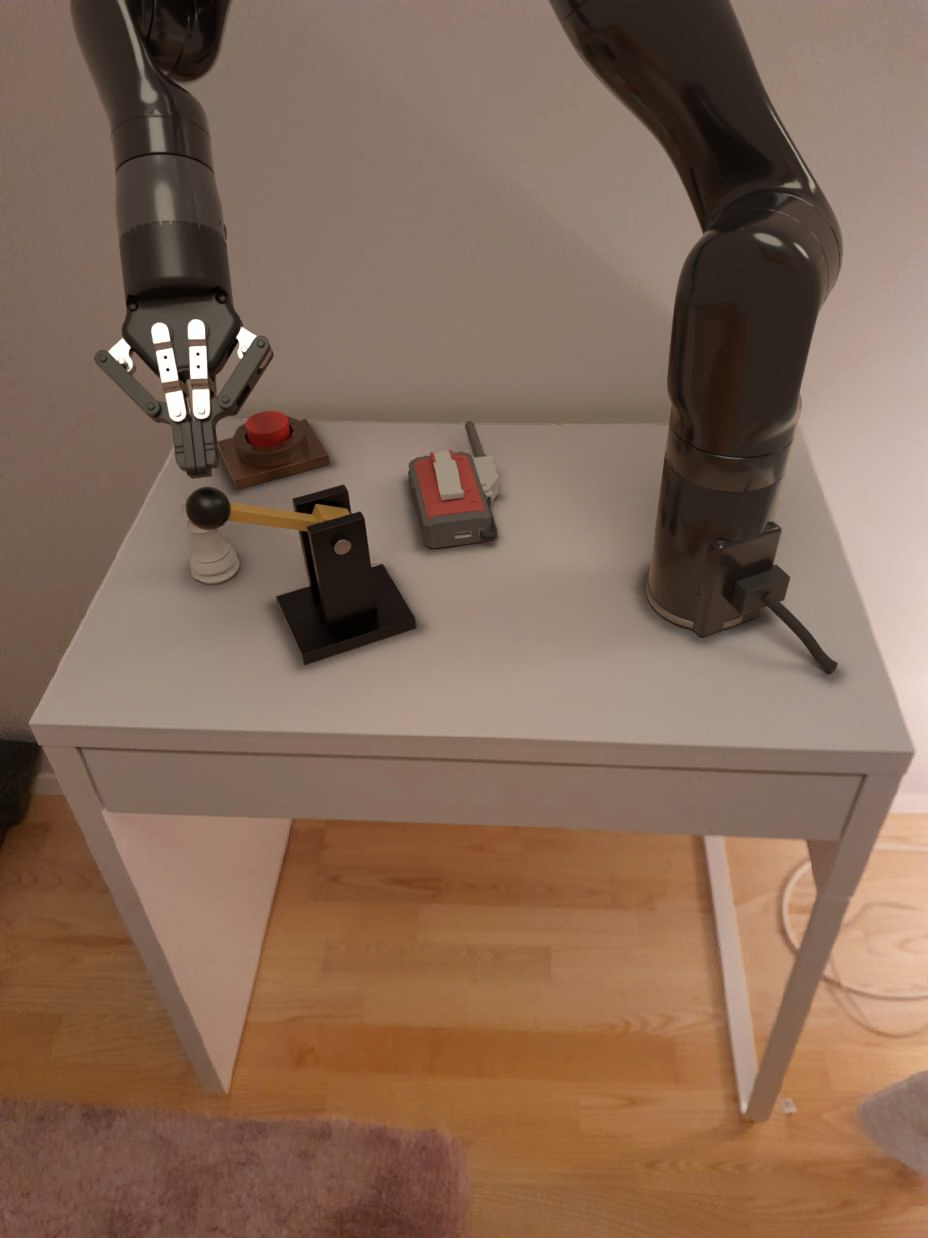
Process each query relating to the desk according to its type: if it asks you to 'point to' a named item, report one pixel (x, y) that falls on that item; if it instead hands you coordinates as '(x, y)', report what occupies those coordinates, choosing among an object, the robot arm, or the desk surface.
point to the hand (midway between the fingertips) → (199, 475)
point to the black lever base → (340, 586)
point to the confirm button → (267, 429)
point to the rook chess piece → (210, 554)
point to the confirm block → (272, 455)
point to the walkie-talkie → (455, 494)
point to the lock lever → (250, 512)
